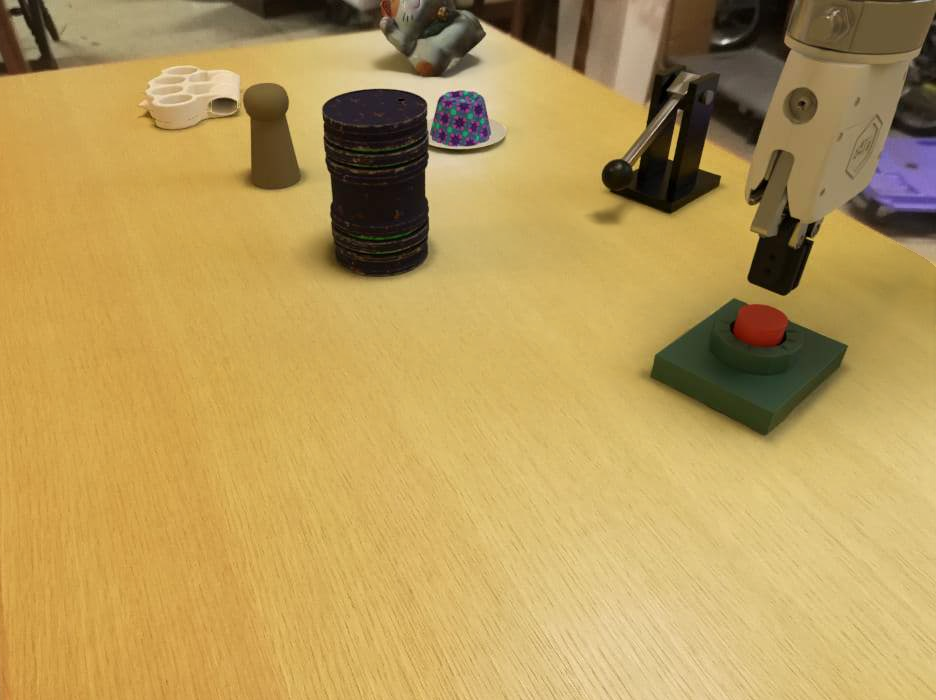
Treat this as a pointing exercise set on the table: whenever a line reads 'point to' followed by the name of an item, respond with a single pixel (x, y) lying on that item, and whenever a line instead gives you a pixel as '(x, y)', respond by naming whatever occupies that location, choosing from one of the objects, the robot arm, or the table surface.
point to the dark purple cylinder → (378, 179)
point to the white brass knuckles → (191, 95)
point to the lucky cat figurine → (430, 32)
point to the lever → (647, 135)
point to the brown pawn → (270, 137)
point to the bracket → (681, 176)
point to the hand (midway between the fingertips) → (771, 285)
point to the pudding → (463, 122)
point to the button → (760, 325)
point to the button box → (747, 368)
